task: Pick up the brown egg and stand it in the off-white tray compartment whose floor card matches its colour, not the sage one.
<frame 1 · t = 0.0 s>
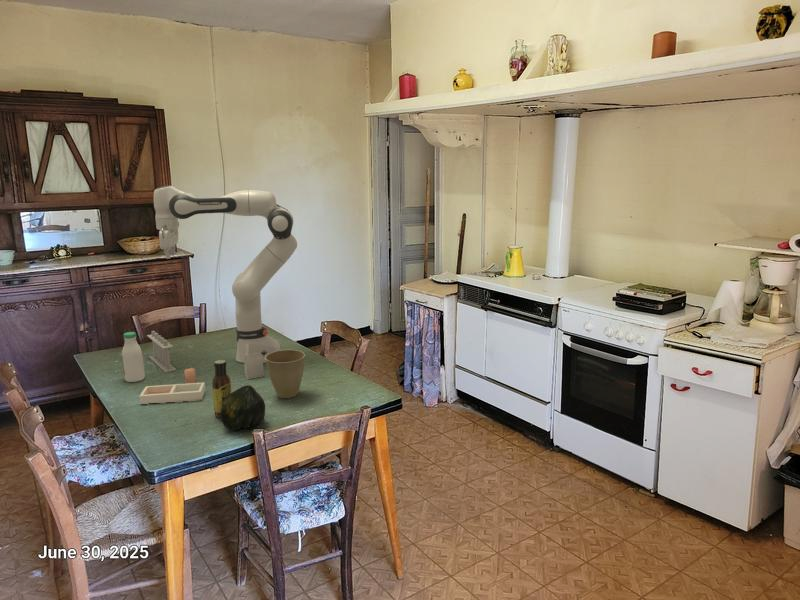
hand: (170, 256, 261), 48 cm above the table, tool pointing down, fingers open, 8 cm apart
sauce bottle: (224, 415, 217), on the table
brown egg: (191, 383, 247), on the table
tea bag: (254, 377, 253), on the table
sorting tray: (173, 397, 233), on the table
squash: (244, 425, 208), on the table
plant pot: (287, 395, 233), on the table
milk bottle: (135, 379, 253), on the table
test tube rack: (162, 364, 271), on the table
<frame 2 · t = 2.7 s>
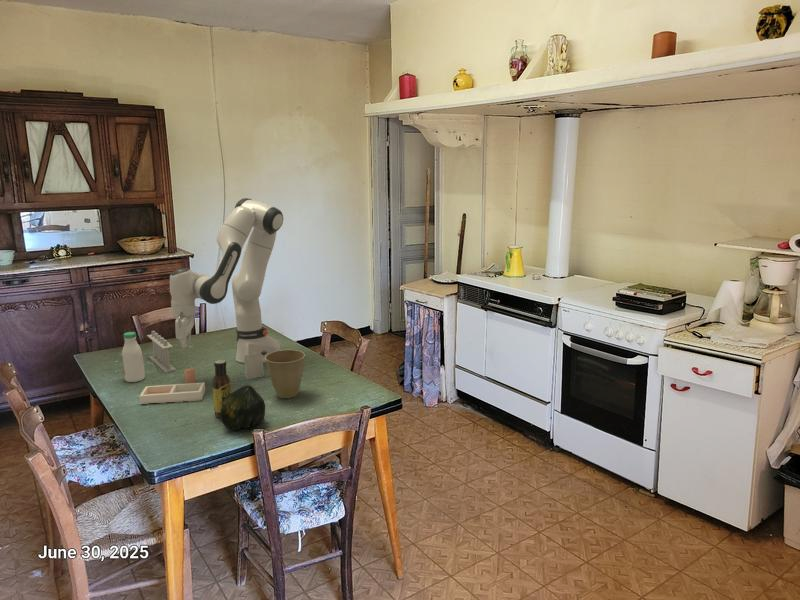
hand: (186, 343, 243), 17 cm above the table, tool pointing down, fingers open, 8 cm apart
nothing on the table moved.
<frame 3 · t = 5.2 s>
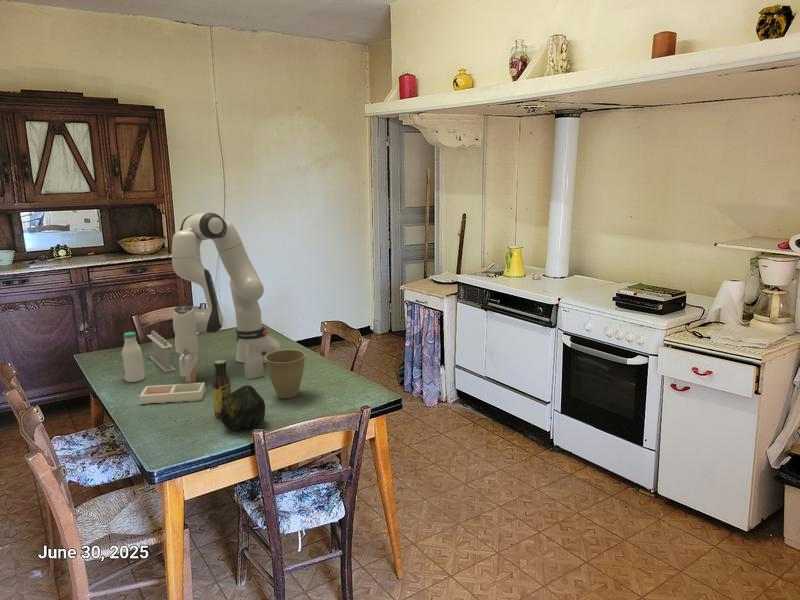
hand: (190, 378, 246), 2 cm above the table, tool pointing down, fingers closed on brown egg, 4 cm apart
brown egg: (191, 383, 247), on the table, touching gripper
everything else where it was.
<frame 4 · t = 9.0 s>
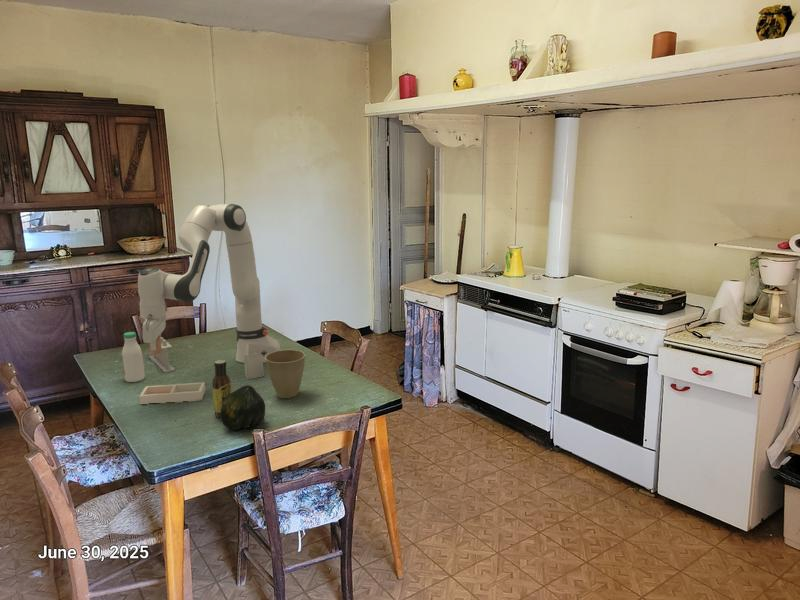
hand: (155, 347, 229), 20 cm above the table, tool pointing down, fingers closed on brown egg, 4 cm apart
brown egg: (156, 352, 229), point 18 cm above the table, touching gripper
everything else where it was.
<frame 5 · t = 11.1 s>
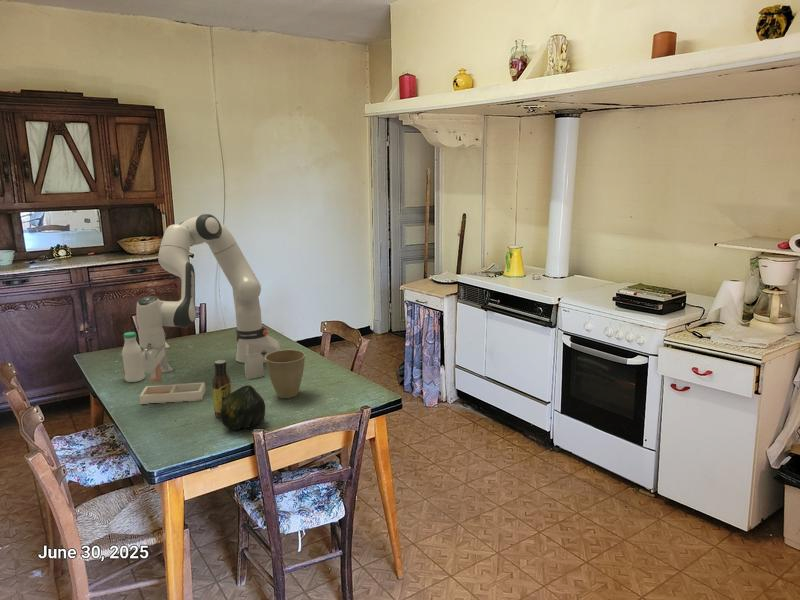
hand: (155, 375, 230), 9 cm above the table, tool pointing down, fingers closed on brown egg, 4 cm apart
brown egg: (156, 380, 230), point 7 cm above the table, touching gripper
everything else where it was.
when the fingers open (5 cm above the table, at t = 12.8 s): brown egg drops 1 cm, resting on sorting tray.
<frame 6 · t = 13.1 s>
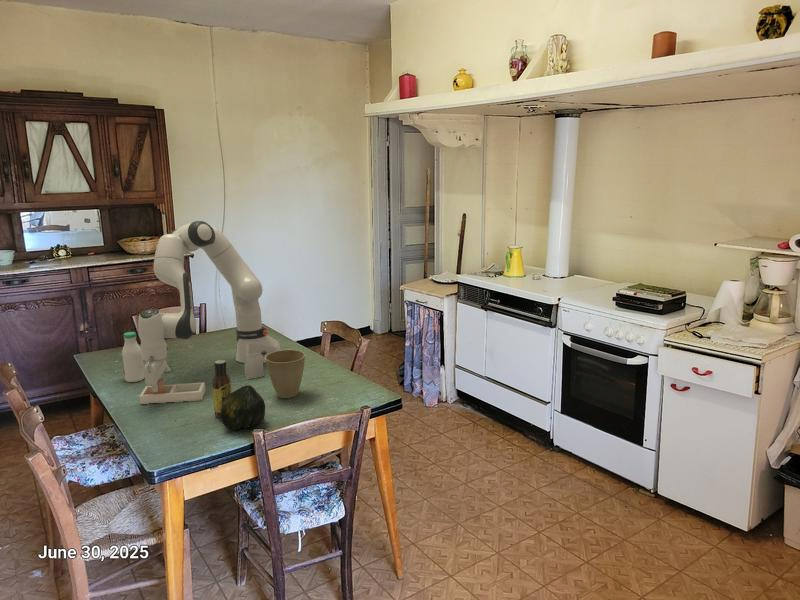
hand: (158, 387, 231), 5 cm above the table, tool pointing down, fingers open, 7 cm apart
brown egg: (159, 396, 232), point 1 cm above the table, touching sorting tray
everything else where it was.
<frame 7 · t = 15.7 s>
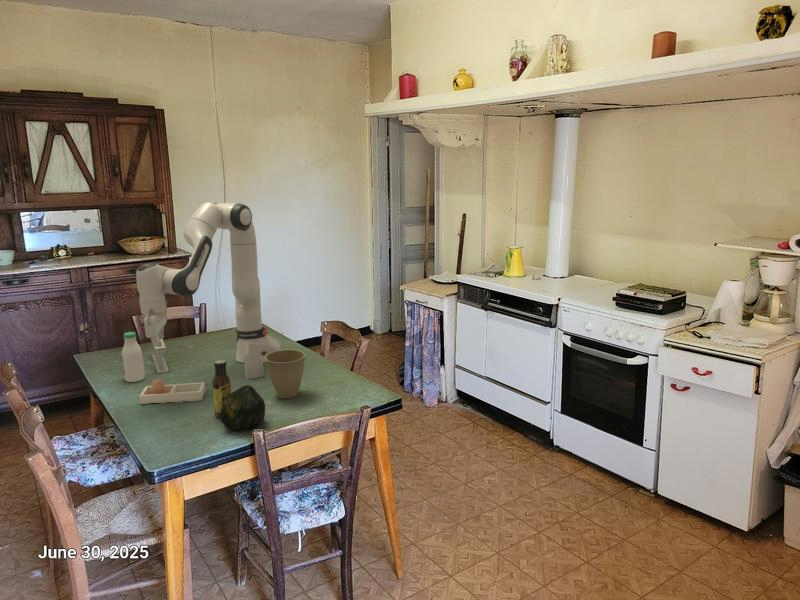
hand: (158, 342, 230), 22 cm above the table, tool pointing down, fingers open, 8 cm apart
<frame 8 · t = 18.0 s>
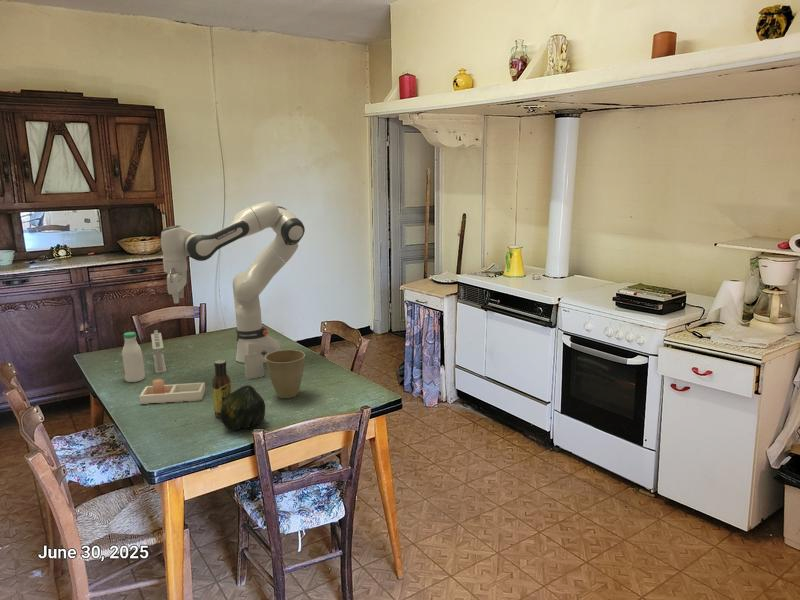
hand: (178, 300, 246), 33 cm above the table, tool pointing down, fingers open, 8 cm apart
at the end: brown egg 0.2 cm from the target spot on the sorting tray, point 1.1 cm above the sorting tray's base; brown egg tilted 2°; the gripper is holding nothing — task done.
